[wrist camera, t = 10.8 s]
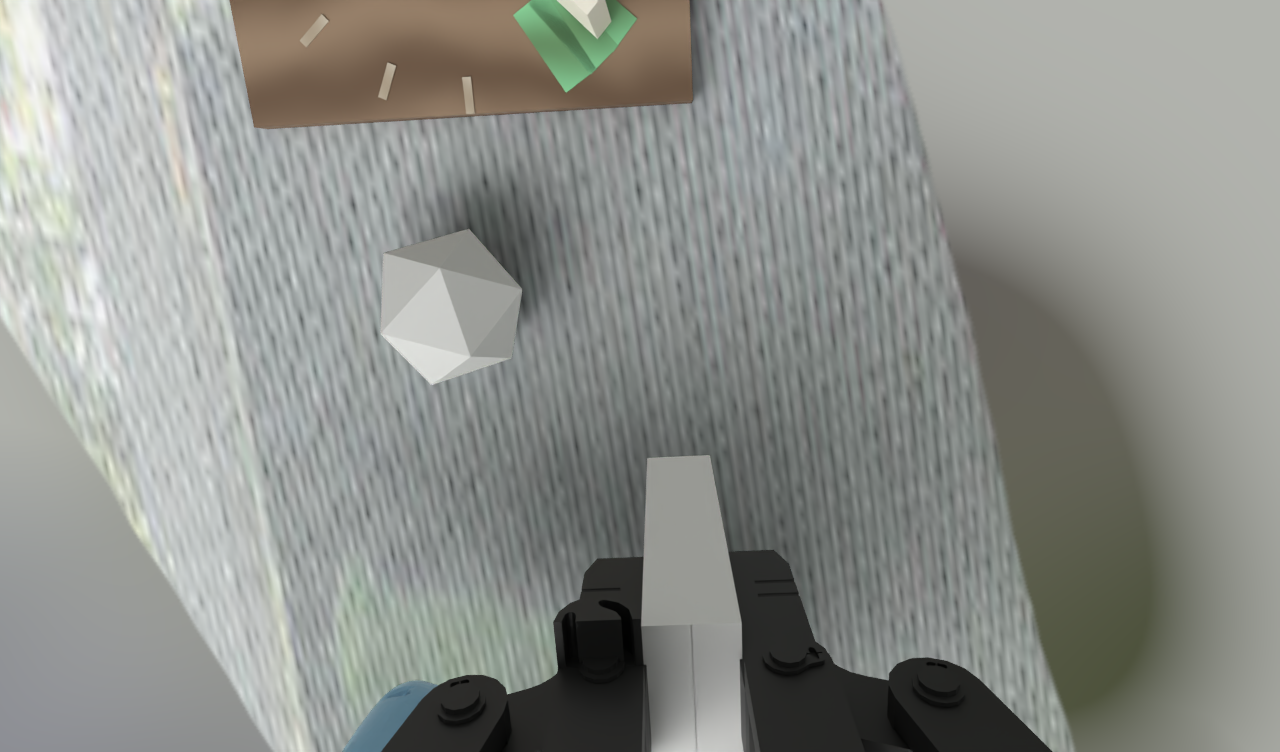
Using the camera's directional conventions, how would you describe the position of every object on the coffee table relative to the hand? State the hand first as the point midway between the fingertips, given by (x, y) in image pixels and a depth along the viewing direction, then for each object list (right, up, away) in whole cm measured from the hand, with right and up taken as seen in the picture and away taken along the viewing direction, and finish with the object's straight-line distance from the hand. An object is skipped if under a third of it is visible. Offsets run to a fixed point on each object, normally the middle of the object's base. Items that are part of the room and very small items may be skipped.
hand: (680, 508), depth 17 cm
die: (-12, +8, +29) cm, 32 cm away
